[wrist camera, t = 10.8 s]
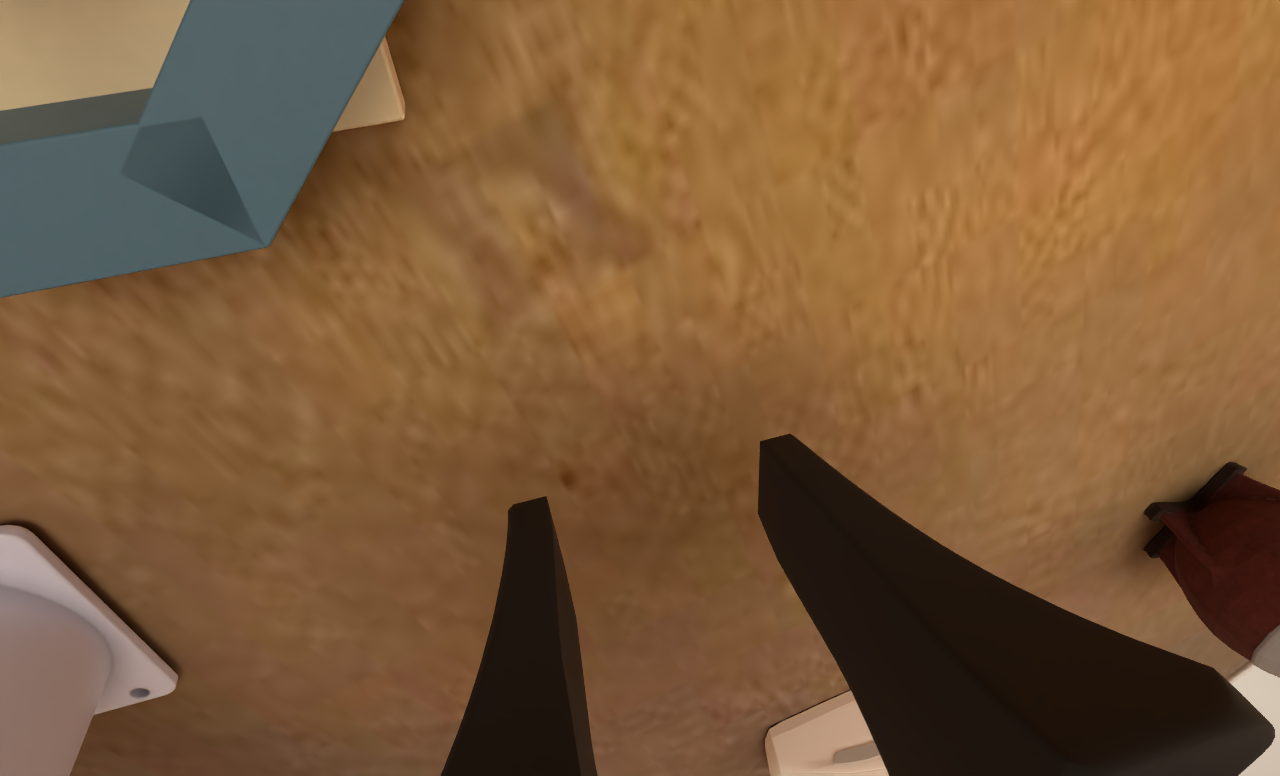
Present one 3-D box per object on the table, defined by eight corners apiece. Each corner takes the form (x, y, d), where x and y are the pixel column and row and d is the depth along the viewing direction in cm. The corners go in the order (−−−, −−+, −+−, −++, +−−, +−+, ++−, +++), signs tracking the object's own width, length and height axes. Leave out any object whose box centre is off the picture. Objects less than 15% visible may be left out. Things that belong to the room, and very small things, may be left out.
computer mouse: (749, 732, 36) (801, 866, 31) (971, 634, 36) (1058, 753, 31) (771, 772, 40) (820, 896, 35) (971, 685, 40) (1047, 796, 35)
